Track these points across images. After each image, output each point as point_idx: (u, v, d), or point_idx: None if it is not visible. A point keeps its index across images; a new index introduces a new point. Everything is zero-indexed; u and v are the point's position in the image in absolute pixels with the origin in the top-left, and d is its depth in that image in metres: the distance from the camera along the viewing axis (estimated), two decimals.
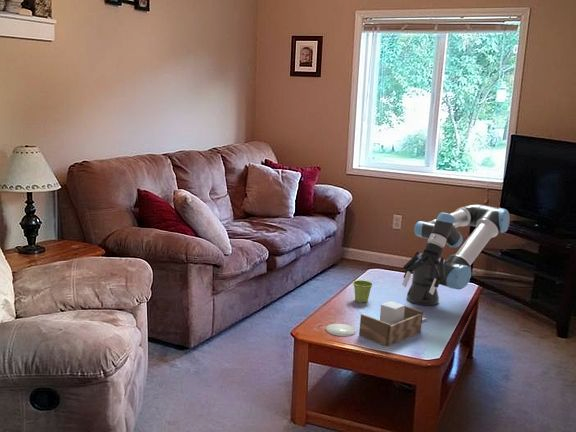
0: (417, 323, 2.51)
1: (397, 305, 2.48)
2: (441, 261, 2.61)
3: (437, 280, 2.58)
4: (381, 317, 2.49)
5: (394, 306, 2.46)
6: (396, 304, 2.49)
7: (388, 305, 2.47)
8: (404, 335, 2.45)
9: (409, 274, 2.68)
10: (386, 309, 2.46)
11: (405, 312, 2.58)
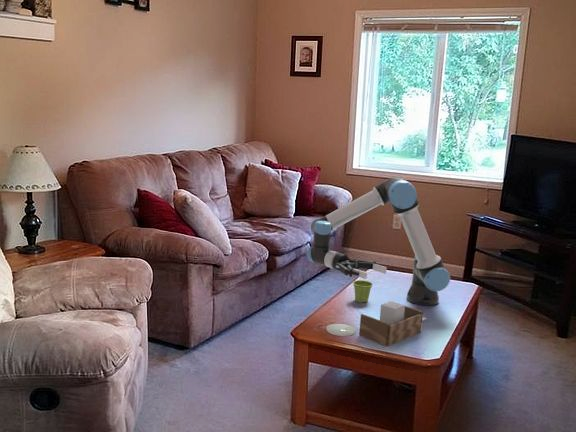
0: (417, 323, 2.51)
1: (397, 305, 2.48)
2: None
3: None
4: (381, 317, 2.49)
5: (394, 306, 2.46)
6: (396, 304, 2.49)
7: (388, 305, 2.47)
8: (404, 335, 2.45)
9: (374, 267, 2.61)
10: (386, 309, 2.46)
11: (405, 312, 2.58)
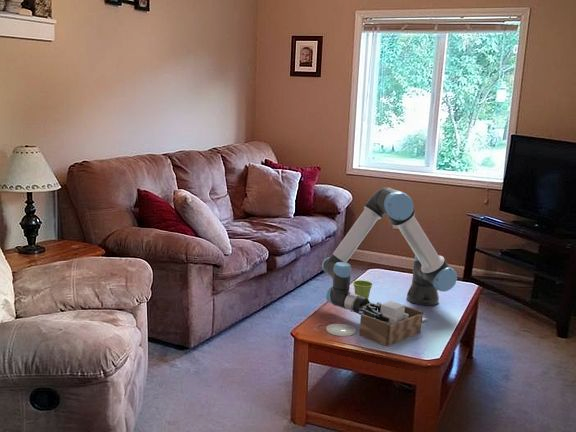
0: (417, 323, 2.51)
1: (397, 305, 2.48)
2: None
3: None
4: None
5: (394, 306, 2.46)
6: (396, 304, 2.49)
7: (388, 305, 2.47)
8: (404, 335, 2.45)
9: None
10: (386, 309, 2.46)
11: (405, 312, 2.58)
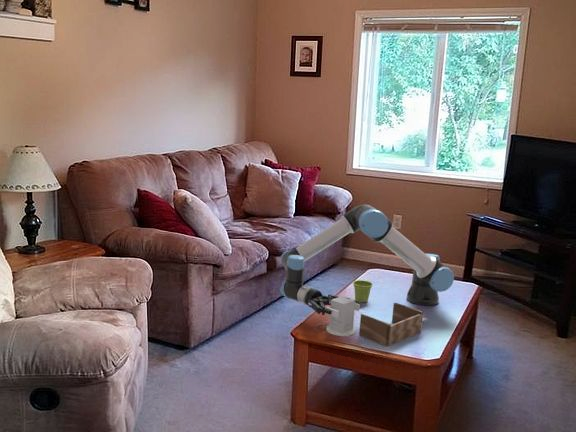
0: (417, 323, 2.51)
1: (347, 300, 2.48)
2: None
3: None
4: None
5: (344, 301, 2.47)
6: (346, 299, 2.49)
7: (338, 300, 2.48)
8: (404, 335, 2.45)
9: None
10: (336, 304, 2.47)
11: (405, 312, 2.58)
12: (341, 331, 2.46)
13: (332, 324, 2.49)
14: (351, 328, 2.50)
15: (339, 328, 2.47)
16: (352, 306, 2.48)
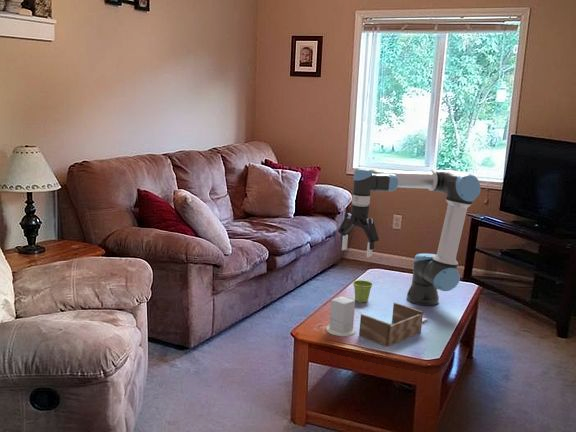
0: (417, 323, 2.51)
1: (347, 300, 2.48)
2: (369, 223, 2.55)
3: (371, 243, 2.56)
4: (331, 312, 2.49)
5: (344, 301, 2.47)
6: (346, 299, 2.49)
7: (338, 300, 2.48)
8: (404, 335, 2.45)
9: (346, 237, 2.66)
10: (336, 304, 2.47)
11: (405, 312, 2.58)
12: (341, 331, 2.46)
13: (332, 324, 2.49)
14: (351, 328, 2.50)
15: (339, 328, 2.47)
16: (352, 306, 2.48)
